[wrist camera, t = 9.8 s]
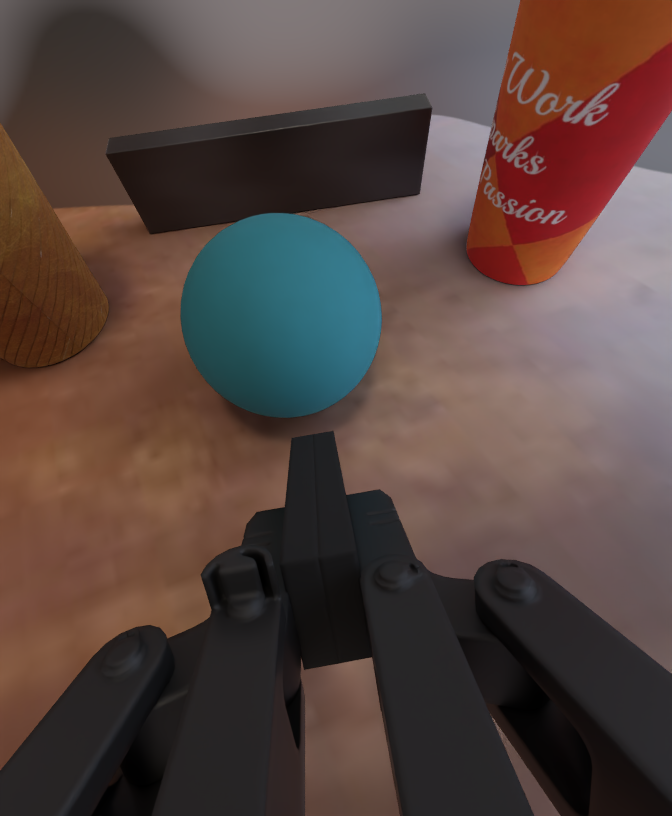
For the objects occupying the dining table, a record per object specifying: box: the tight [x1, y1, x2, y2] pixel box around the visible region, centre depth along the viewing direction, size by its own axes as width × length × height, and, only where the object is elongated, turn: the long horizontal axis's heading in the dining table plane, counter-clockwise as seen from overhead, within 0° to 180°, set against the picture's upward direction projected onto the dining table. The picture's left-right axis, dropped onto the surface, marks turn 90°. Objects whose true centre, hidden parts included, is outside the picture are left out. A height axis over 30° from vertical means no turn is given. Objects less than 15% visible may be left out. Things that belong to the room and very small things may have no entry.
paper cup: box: [467, 0, 672, 285], centre depth 16 cm, size 8×8×14 cm
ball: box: [181, 213, 382, 418], centre depth 16 cm, size 8×8×8 cm
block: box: [106, 94, 432, 234], centre depth 23 cm, size 18×2×5 cm, turn 99°
